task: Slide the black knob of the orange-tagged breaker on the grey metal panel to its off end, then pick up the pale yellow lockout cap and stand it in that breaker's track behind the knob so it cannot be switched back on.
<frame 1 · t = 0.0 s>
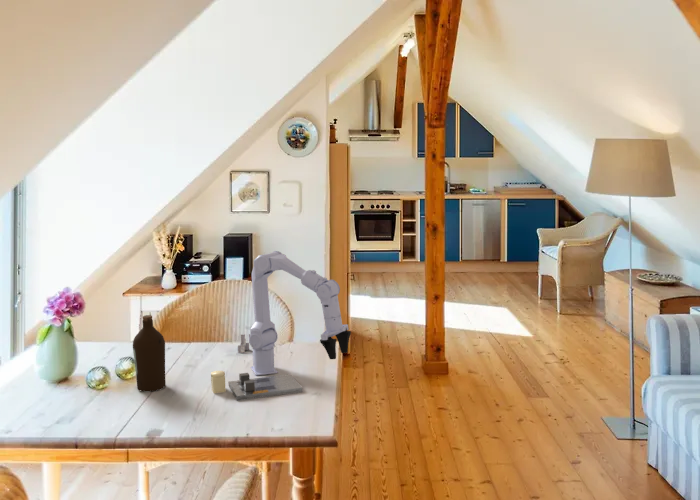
hand: (338, 355, 255), 11 cm above the table, tool pointing down, fingers open, 7 cm apart
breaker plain: (244, 378, 256), point 3 cm above the table, slide at 0.0 cm
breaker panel: (264, 388, 255), on the table
breaker tagged: (249, 385, 249), point 3 cm above the table, slide at 0.0 cm
lockout cap: (218, 390, 253), on the table
olive oil: (151, 387, 258), on the table
architectural model: (255, 354, 296), on the table
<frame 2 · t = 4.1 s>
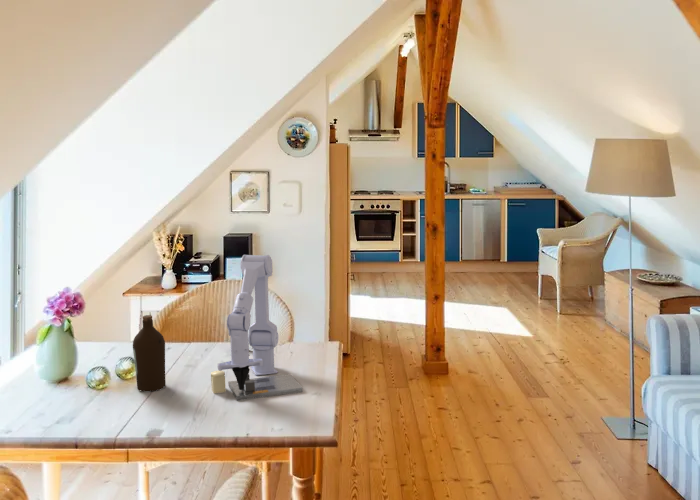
hand: (241, 388, 248), 2 cm above the table, tool pointing down, fingers closed
breaker tagged: (249, 385, 249), point 3 cm above the table, slide at 0.0 cm, touching gripper
everything else where it was.
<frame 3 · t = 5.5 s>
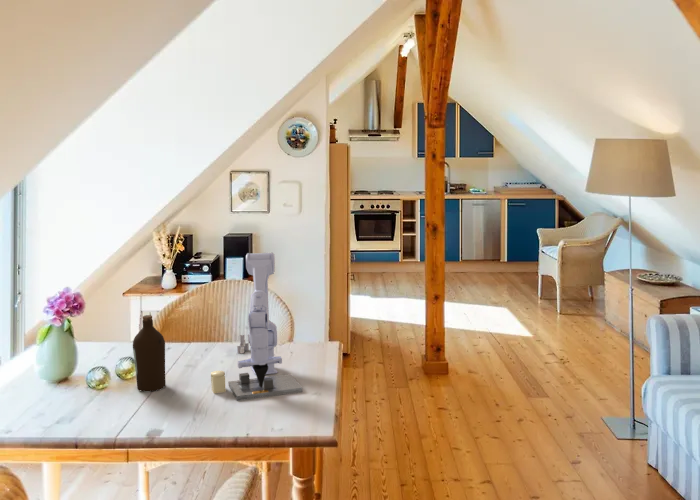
hand: (260, 386, 250), 2 cm above the table, tool pointing down, fingers closed
breaker tagged: (267, 383, 251), point 3 cm above the table, slide at 6.2 cm, touching gripper
everything else where it was.
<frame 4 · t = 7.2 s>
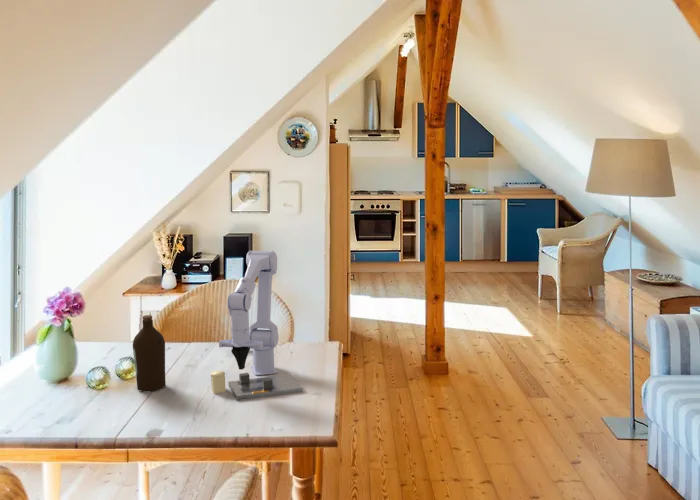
hand: (241, 368, 250), 8 cm above the table, tool pointing down, fingers closed
breaker tagged: (267, 383, 251), point 3 cm above the table, slide at 6.1 cm
everything else where it was.
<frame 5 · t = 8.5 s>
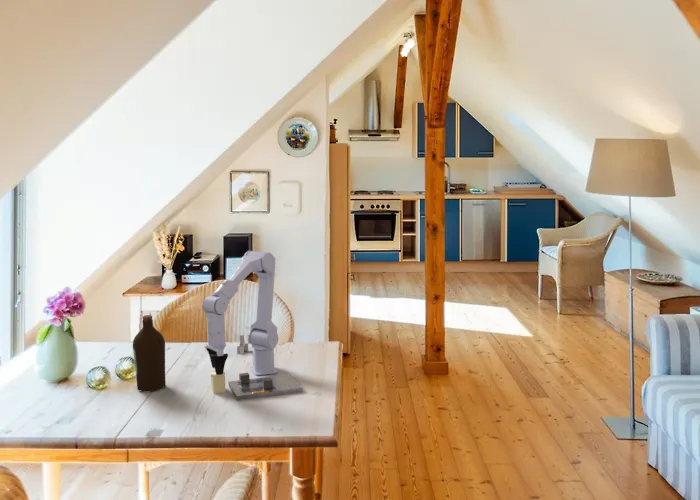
hand: (217, 370, 252), 7 cm above the table, tool pointing down, fingers open, 7 cm apart
nothing on the table moved.
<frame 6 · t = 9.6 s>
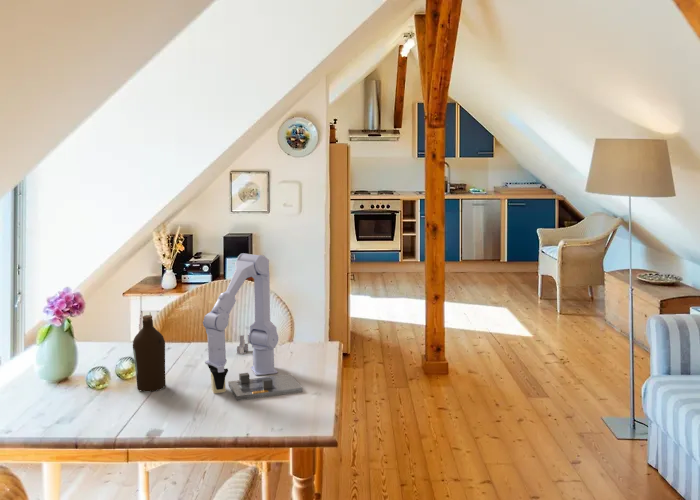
hand: (218, 386, 253), 1 cm above the table, tool pointing down, fingers closed on lockout cap, 4 cm apart
lockout cap: (218, 390, 253), on the table, touching gripper
everything else where it was.
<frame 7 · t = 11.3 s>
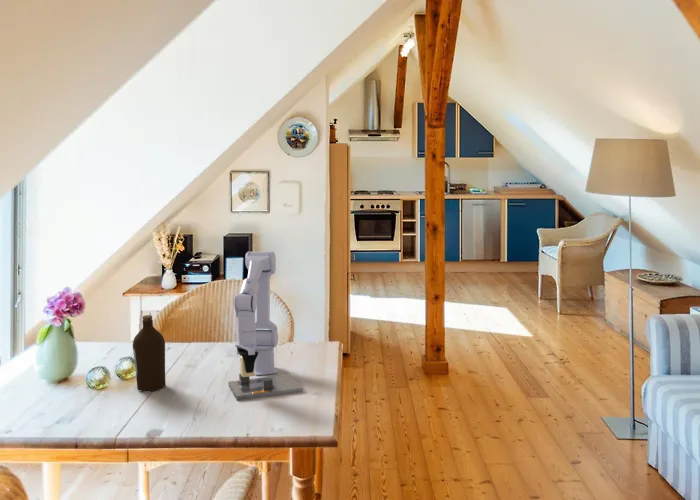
hand: (248, 370, 248), 8 cm above the table, tool pointing down, fingers closed on lockout cap, 4 cm apart
lockout cap: (247, 374, 248), point 7 cm above the table, touching gripper
when the fingers open (4 cm above the table, at t = 12.5 s): lockout cap drops 1 cm, resting on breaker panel.
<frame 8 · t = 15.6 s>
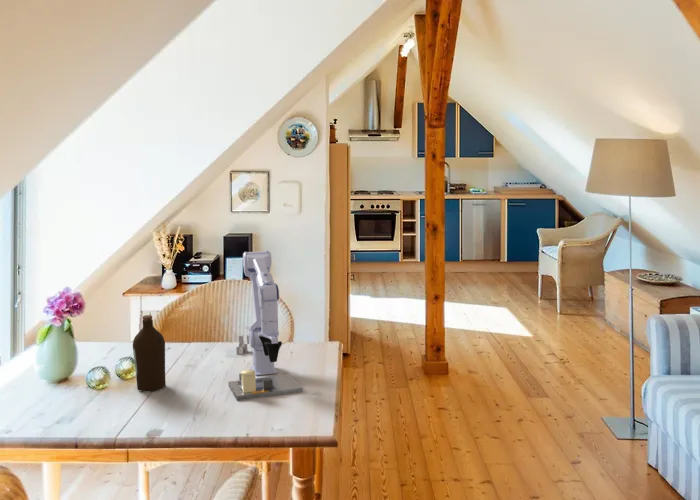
hand: (270, 358, 257), 9 cm above the table, tool pointing down, fingers open, 7 cm apart
lockout cap: (248, 390, 249), point 2 cm above the table, touching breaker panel
at the end: breaker tagged slide at 6.1 cm; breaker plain slide at 0.0 cm; lockout cap 0.3 cm from the target spot on the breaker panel, point 1.5 cm above the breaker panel's base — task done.
